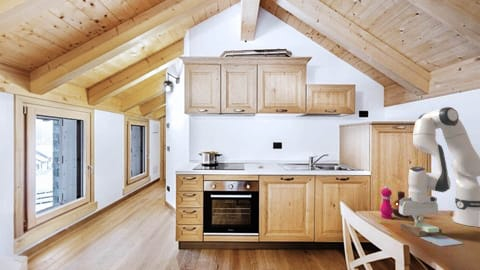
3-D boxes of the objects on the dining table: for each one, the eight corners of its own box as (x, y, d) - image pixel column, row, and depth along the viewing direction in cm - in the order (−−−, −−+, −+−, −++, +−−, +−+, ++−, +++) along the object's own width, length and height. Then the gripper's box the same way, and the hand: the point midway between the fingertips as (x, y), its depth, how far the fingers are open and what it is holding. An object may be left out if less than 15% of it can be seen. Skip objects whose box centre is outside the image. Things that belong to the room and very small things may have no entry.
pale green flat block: (424, 226, 146) (424, 222, 146) (439, 231, 138) (438, 227, 138) (414, 226, 146) (414, 222, 146) (428, 232, 137) (428, 228, 137)
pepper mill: (386, 219, 168) (386, 187, 168) (377, 216, 175) (377, 185, 175) (395, 218, 170) (395, 186, 170) (386, 215, 177) (386, 184, 177)
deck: (421, 227, 153) (421, 222, 153) (441, 235, 141) (441, 229, 141) (400, 229, 150) (400, 224, 150) (419, 237, 138) (419, 231, 138)
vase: (403, 219, 169) (403, 194, 169) (387, 214, 179) (387, 191, 179) (415, 217, 173) (415, 192, 173) (399, 212, 183) (399, 189, 183)
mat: (441, 235, 141) (441, 234, 141) (463, 244, 129) (463, 243, 129) (420, 237, 138) (420, 237, 138) (441, 246, 127) (441, 245, 127)
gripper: (403, 199, 143) (404, 225, 143) (440, 198, 145) (440, 224, 145) (395, 196, 149) (396, 221, 149) (430, 195, 151) (431, 220, 151)
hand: (418, 222), depth 147 cm, fingers closed
